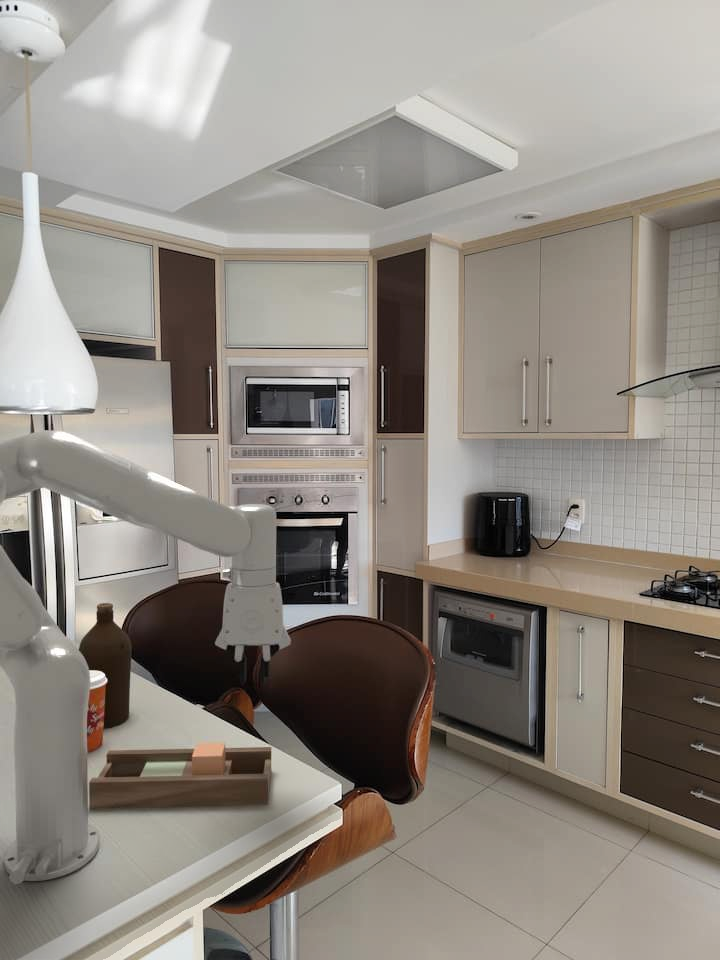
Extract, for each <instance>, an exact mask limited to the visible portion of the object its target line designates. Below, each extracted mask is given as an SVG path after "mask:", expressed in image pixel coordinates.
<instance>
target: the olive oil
mask: <svg viewBox="0 0 720 960" xmlns="http://www.w3.org/2000/svg"><path fill="white" fill-rule="evenodd" d="M96 609H97V610H96V622H95V624H94V625H93V626H92V628H90V629H89V630H88V632H87V633H86V634H85V635H84V636H83V637H82V639H81V640H80V644H79V646H78V650H79V651H80V652H81V654H82V655H83V657H84V658H85V660H86V662H87V665H88V668H89V670H95V671H101V672H103V673H104V674H105V677H106V678H107V683H106V687H105V707H104V726H103V729H107V728H108V729H109V728H113V727H117V726H119V725H122V724H123V723H125V722H126V721H127V720H128V719H129V717H130V692H131V691H130V690H131V672H132V671H131V670H132V669H131V667H132V655H133V654H132V649H133V647H132V641H131V639H130V637H129V634H127V632H125V631H124V630H123V628H121V626H120V625H118V624H117V623H116V622H115V621H114V610H113V609H114V604H113V603H109V602H105V603H104V602H102V603H99V604H97V605H96Z"/></svg>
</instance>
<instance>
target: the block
mask: <svg viewBox="0 0 720 960" xmlns="http://www.w3.org/2000/svg"><path fill="white" fill-rule="evenodd" d="M225 748H226V742H223V741H222V742H196V744H195V747H194V748H193V749H194V752H193V755H192V775H223V771H224V767H225Z"/></svg>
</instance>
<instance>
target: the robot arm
mask: <svg viewBox="0 0 720 960" xmlns="http://www.w3.org/2000/svg"><path fill="white" fill-rule="evenodd" d="M44 488H45V489H46V490H48V491H51V492H54V493H56V494H59V495H61V496H63V497H66V498H67V499H68V498H69V499H71V500H73V501H76V502H78V503H80V504H82V505H85V506H88V507H90V508H92V509H95V510H97V511H99V512H102V513H104V514H107V515H110V516H112V517H113V518H117V519H119V520H122V521H124V522H127V523H129V524H131V525H134V526H136V527H140V528H144V529H147V530H148V529H149V530H152V531H155V532H159V533H161V534H164V535H166V536H170V537H173V538H175V539H177V540H180V541H182V542H185V543H187V544H189V545H191V546H192V547H194V548H196V549H199V550H202V551H203V552H207V553H210V554H212V555H214V556H217V557H221V558H231V567H230V568H228V569H223V570H222V578H226V579H229V581H230V582H229V583H228V584H227V585H226V588H225V593H224V599H223V610H222V611H223V612H222V627H221V629H220V631H219V634H218V635H217V637H216V639H215V641H214V644H215V646H217V647H218V648H220V649H223V650H225V651H226V652H227V653H229V654H230V655H231V657H233V658H234V661H235V662H236V678H237V679H239V681H240V685H244V684H246V680H247V657H246V654H245V653H244V651H245V650H244V649H245V646H262V655H261V657H260V662H259V663H260V665H259V667H260V668H259V670H260V671H259V673H260V675H259V677H260V678H259V682H260V684H261V685H265V682H266V678H269V677H270V660H271V659H272V657H274V655H276V654H277V653H278V652H279V651H280V650H282V649H284V648H286V647H288V646H290V645H291V642H292V640H291V637H290V636H289V634H288V631H287V630H286V628H285V625H284V610H283V609H284V608H283V597H282V589H281V586H280V583H279V582H277V580H276V579H277V512H276V510H275V508H274V507H273V506H271V505H268V504H264V503H263V504H261V503H248V504H247V503H245V504H240V505H237V506H235V505H233V506H230V505H229V506H228V505H225V504H223V503H221V502H219V501H217V500H214V499H213V498H211V497H208V496H206V495H204V494H202V493H199V492H196V491H195V490H193V489H190V488H188V487H185V486H183V485H181V484H179V483H177V482H174V481H173V480H171V479H169V478H167V477H165V476H162V475H160V474H158V473H157V472H155V471H152V470H150V469H147V467H144V466H142V465H140V464H137V463H134V462H133V461H131V460H128V459H126V458H124V457H121V456H120V455H118V454H115V453H113V452H111V451H109V450H107V449H105V448H102V447H101V446H98V445H96V444H94V443H92V442H90V441H88V440H86V439H83V438H81V437H79V436H77V435H74V434H73V433H69V432H67V431H62V430H52V429H51V430H48V429H47V430H46V429H45V430H39V431H35V432H32V433H31V432H30V433H28V434H24V435H21V436H18V437H17V436H16V437H14V438H11V439H6V440H2V441H0V506H1V505H2V504H3V502H4V501H6V500H9V499H13V498H16V497H19V496H22V495H25V494H28V493H31V492H34V491H37V490H40V489H44ZM0 668H1V669H2V670H3V672H4V674H5V675H6V676H7V678H8V680H9V682H10V684H11V686H12V688H13V690H14V697H15V712H14V713H15V714H14V715H15V716H14V729H13V730H14V734H13V735H14V736H13V738H14V740H13V741H14V744H13V745H14V746H13V747H14V748H13V749H14V752H13V753H14V784H15V788H14V789H15V830H16V831H15V832H16V833H15V835H16V837H15V838H16V840H14V841H13V842H12V844H11V845H10V846H9V847H8V848H7V850H6V852H5V855H4V868H5V871H6V873H7V874H9V876H8V877H9V881H10V882H11V883H12V884H14V885H20V884H22V883H23V881H25V882H40V881H41V882H42V881H47V880H53V879H56V878H57V879H58V878H60V877H63V876H65V875H69V874H71V873H73V872H75V871H77V870H79V869H80V868H82V867H83V866H84V865H86V864H87V863H88V862H90V861H91V860H92V859H93V857H94V856H95V855H96V854H97V853H98V850H99V849H100V834H99V831H98V830H97V829H96V828H95V827H94V826H92V825H91V824H89V797H88V796H89V783H88V752H87V711H88V702H89V694H90V672H89V668H88V665H87V662H86V660H85V658H84V657H83V655H82V654H81V652H80V651H79V648H77V646H76V645H74V644H73V642H72V641H70V640H69V638H68V637H67V636H66V635H65V634H64V633H63V631H62V630H61V628H60V627H59V626H58V625H57V623H56V622H55V620H54V618H53V617H52V616H51V615H50V613H49V612H48V611H47V609H46V608H45V606H44V605H43V602H42V599H41V597H40V596H39V594H38V592H37V590H36V589H35V588H34V587H33V586H32V585H31V584H30V583H29V582H28V581H27V579H25V578H24V577H23V576H22V574H21V573H20V571H19V570H18V568H17V567H16V566H15V565H14V563H13V561H11V559H10V557H9V556H8V554H7V552H6V551H5V549H4V548H3V546H2V545H1V544H0Z"/></svg>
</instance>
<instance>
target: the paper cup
mask: <svg viewBox="0 0 720 960" xmlns="http://www.w3.org/2000/svg"><path fill="white" fill-rule="evenodd" d="M89 672H90V694H89V702H88V711H87V753H89V752H88V751H90V752H93V751H95V750H97V749H100V748H101V746H102V745H103V740H104V738H103V737H104V728H103V726H104V707H105V687H106V683H107V678H106V677H105V674H104V673H103V672H101V671H95V670H89Z"/></svg>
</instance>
